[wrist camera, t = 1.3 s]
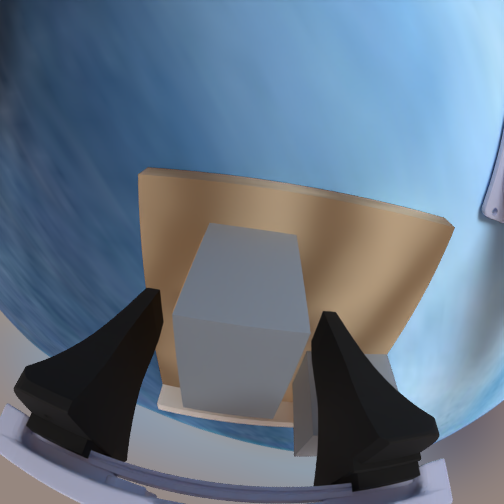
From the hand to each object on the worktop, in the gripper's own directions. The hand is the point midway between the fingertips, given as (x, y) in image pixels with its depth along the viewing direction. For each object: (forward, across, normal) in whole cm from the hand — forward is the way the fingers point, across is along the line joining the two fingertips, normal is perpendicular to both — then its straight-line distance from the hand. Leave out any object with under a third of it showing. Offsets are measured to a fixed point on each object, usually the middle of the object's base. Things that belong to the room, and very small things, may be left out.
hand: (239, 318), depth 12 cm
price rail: (+3, -2, +12) cm, 13 cm away
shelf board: (+4, -2, +4) cm, 6 cm away
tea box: (+3, 0, 0) cm, 3 cm away
